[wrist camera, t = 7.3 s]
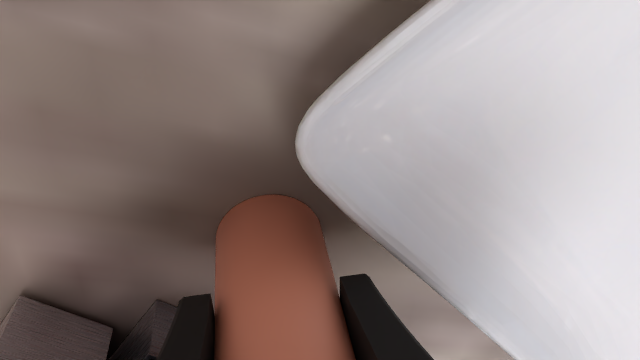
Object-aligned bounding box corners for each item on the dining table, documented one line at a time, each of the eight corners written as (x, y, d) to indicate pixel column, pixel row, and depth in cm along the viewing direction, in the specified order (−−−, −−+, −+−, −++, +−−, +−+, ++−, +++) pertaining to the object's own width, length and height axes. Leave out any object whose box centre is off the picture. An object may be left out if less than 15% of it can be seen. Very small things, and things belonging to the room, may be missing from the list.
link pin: (322, 271, 16) (396, 579, 9) (222, 283, 15) (223, 615, 9) (320, 189, 14) (408, 492, 7) (209, 201, 14) (197, 531, 7)
